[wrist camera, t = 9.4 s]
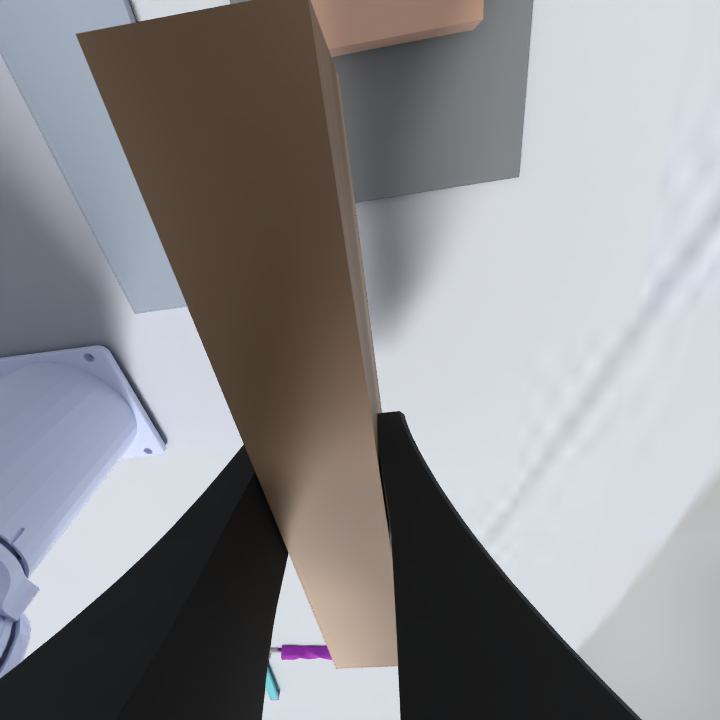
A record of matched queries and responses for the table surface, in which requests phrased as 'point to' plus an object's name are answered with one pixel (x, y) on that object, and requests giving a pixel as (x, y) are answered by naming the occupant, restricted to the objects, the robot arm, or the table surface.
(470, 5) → the tile
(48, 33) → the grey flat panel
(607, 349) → the table surface
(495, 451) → the table surface
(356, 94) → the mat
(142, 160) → the wooden plank
